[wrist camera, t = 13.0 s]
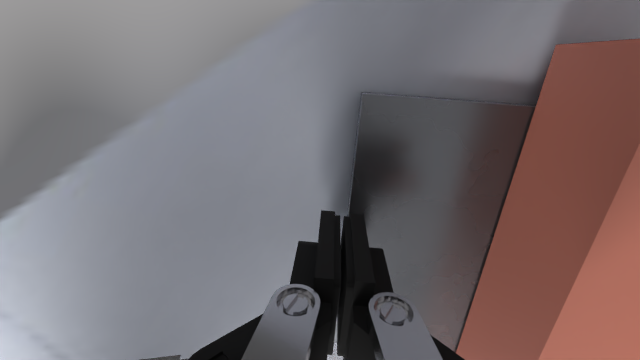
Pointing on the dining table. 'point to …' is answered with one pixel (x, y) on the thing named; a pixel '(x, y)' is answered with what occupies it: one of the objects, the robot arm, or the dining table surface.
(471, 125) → the grey rectangular block
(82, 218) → the dining table surface
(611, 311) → the pink block
